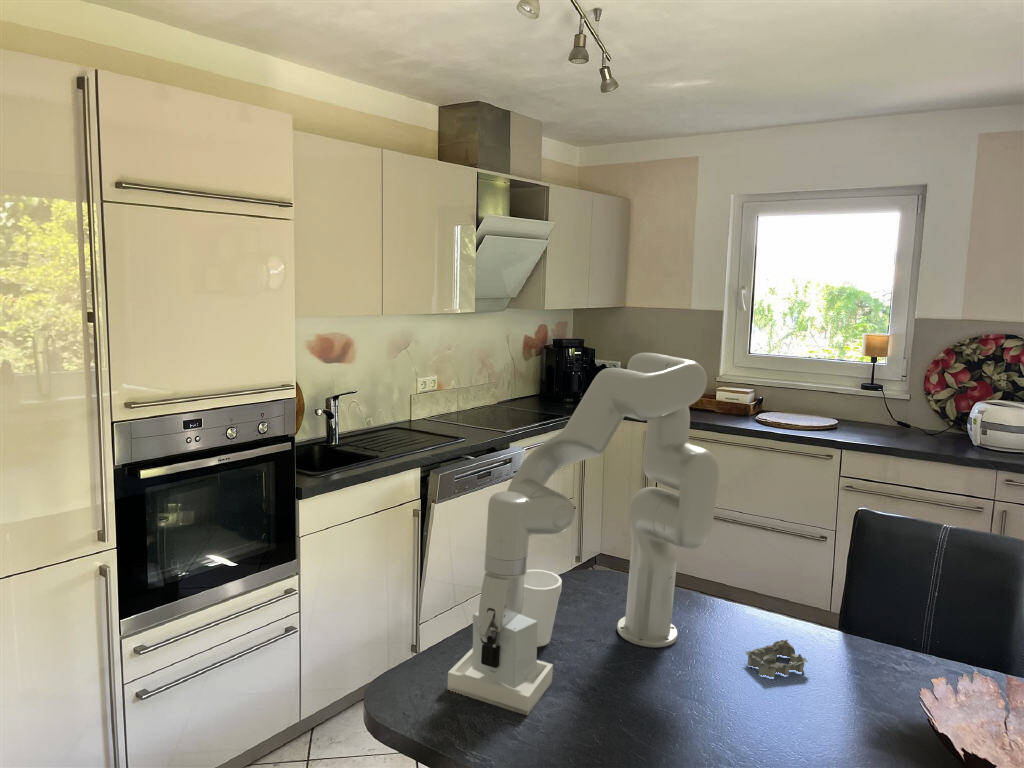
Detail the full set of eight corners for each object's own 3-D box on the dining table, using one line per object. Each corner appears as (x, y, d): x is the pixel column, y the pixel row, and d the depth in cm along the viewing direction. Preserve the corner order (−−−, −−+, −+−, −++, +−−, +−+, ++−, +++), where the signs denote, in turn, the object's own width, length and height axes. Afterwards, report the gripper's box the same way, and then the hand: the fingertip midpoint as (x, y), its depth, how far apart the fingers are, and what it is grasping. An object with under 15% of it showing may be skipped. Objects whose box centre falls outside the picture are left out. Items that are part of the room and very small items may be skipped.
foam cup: (553, 653, 146) (557, 592, 144) (508, 646, 148) (511, 585, 146) (560, 631, 155) (564, 573, 153) (517, 624, 157) (520, 567, 155)
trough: (476, 659, 142) (477, 643, 142) (551, 682, 136) (553, 664, 136) (447, 690, 132) (448, 672, 131) (527, 715, 126) (528, 696, 125)
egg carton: (786, 656, 150) (788, 638, 150) (810, 677, 143) (813, 657, 143) (740, 661, 147) (742, 642, 147) (763, 682, 140) (765, 662, 140)
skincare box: (538, 675, 132) (539, 619, 130) (514, 690, 127) (514, 632, 125) (495, 655, 138) (495, 602, 137) (471, 668, 134) (471, 613, 132)
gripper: (507, 542, 140) (501, 629, 142) (464, 574, 124) (458, 671, 127) (544, 551, 137) (537, 639, 139) (504, 585, 121) (498, 684, 124)
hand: (499, 654), depth 133 cm, fingers closed on skincare box, 7 cm apart
